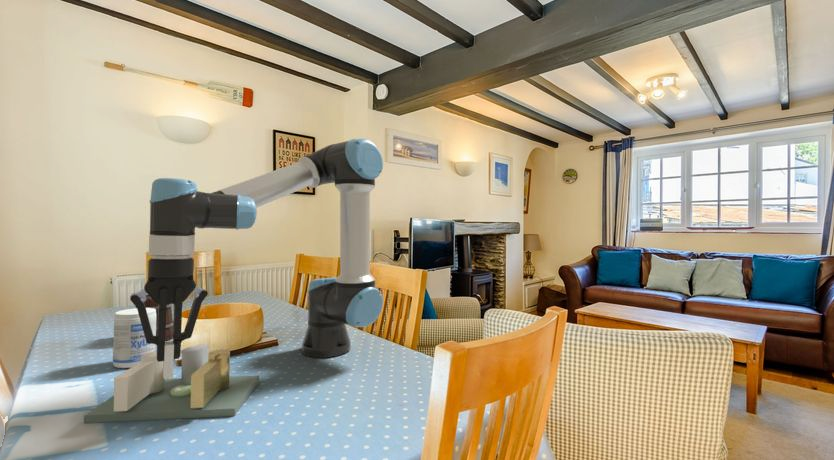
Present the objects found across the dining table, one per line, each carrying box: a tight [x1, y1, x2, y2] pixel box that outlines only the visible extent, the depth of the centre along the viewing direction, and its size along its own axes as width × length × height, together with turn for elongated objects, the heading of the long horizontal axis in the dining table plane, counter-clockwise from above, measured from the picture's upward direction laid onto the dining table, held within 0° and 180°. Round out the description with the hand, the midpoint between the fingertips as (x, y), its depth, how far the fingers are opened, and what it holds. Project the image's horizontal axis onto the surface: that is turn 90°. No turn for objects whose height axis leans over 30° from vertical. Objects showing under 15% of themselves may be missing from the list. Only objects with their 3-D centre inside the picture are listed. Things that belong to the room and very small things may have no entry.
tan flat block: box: [191, 349, 231, 408], centre depth 80 cm, size 4×13×8 cm, turn 8°
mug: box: [134, 294, 174, 342], centre depth 125 cm, size 16×12×15 cm
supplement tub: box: [112, 307, 157, 369], centre depth 103 cm, size 10×10×15 cm
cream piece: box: [113, 350, 165, 411], centre depth 78 cm, size 4×13×8 cm, turn 8°
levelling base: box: [83, 344, 260, 424], centre depth 83 cm, size 28×19×10 cm
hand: (167, 376), depth 72 cm, fingers closed
